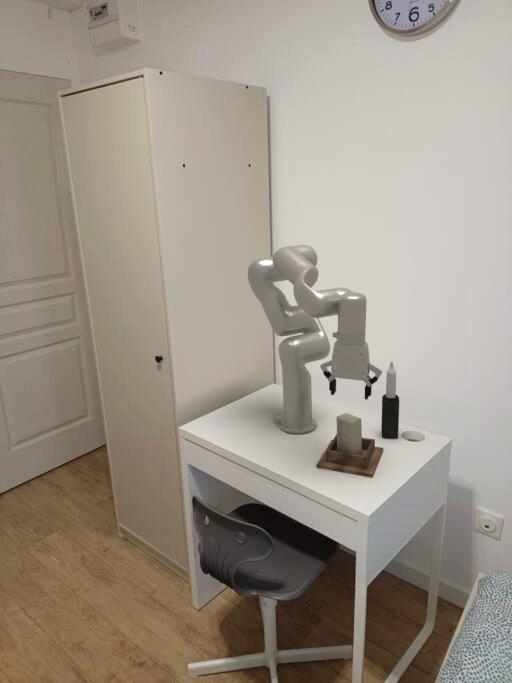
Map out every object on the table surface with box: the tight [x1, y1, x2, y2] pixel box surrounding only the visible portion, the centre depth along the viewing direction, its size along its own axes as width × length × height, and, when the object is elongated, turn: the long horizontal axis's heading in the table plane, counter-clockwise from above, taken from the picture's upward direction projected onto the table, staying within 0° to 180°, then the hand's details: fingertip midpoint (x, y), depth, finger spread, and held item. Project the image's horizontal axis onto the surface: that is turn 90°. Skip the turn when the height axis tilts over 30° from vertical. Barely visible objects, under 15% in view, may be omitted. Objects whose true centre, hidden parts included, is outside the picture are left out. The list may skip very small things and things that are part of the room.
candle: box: [380, 361, 400, 440], centre depth 158 cm, size 5×5×25 cm
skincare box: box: [335, 412, 363, 455], centre depth 146 cm, size 6×4×12 cm
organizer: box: [316, 433, 384, 478], centre depth 147 cm, size 16×16×4 cm
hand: (350, 395), depth 143 cm, fingers open, 9 cm apart
